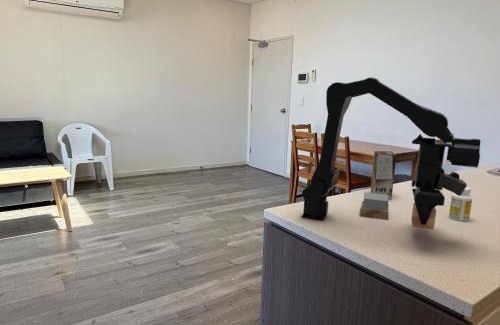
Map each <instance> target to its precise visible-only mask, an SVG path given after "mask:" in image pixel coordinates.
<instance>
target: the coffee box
mask: <svg viewBox="0 0 500 325" xmlns="http://www.w3.org/2000/svg"><path fill="white" fill-rule="evenodd" d="M396 163H397V154H395V153H394V152H393V151H387V150H386V151H385V150H384V151H383V150H380V151H379V150H374V152H373V160H372V172H371V184H370V193H375V194H384V195H388V201H389V200H390V201H391V200H392V199H393V189H394V182H395V181H394V180H395V171H396V170H395V169H396Z"/></svg>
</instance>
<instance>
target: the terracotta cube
mask: <svg viewBox="0 0 500 325" xmlns="http://www.w3.org/2000/svg"><path fill="white" fill-rule="evenodd" d="M436 215H437V209H436V207H434V208H433V209H432V212H431V214H430V216H429V218H428V221H427V223H426V225H422V224H421V222H420V219H419V215H418V212H417V208H416V205H415V202H413V203H412V212H411V218H410V221H411V226H412V228H419V229H426V230H433V231H434V229H435V223H436Z"/></svg>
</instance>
